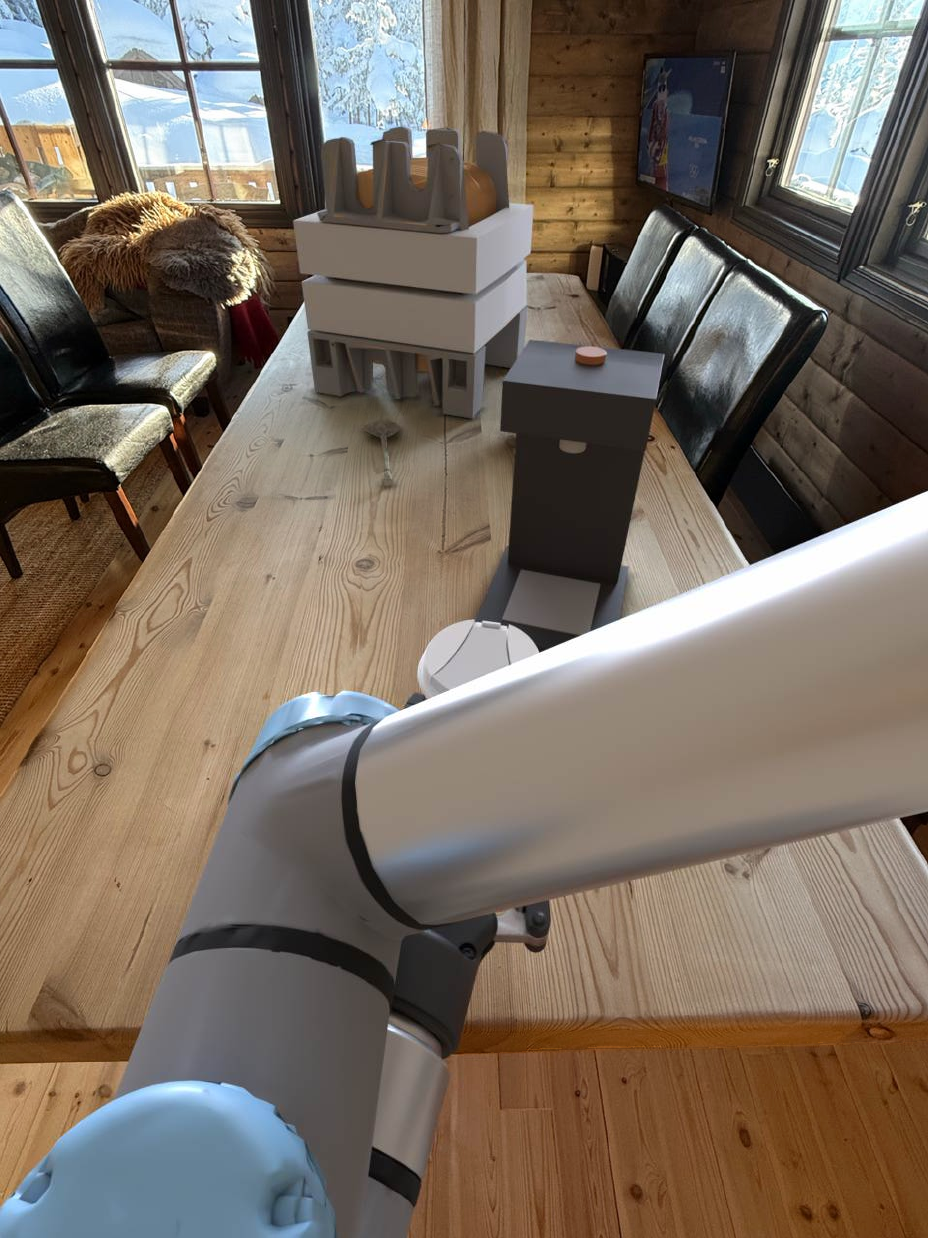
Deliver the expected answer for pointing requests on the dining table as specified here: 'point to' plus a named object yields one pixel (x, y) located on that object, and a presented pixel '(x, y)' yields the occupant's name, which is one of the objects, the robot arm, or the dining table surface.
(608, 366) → the coffee maker
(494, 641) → the paper cup
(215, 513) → the dining table surface
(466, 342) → the transformer
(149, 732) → the dining table surface
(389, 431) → the soupspoon
